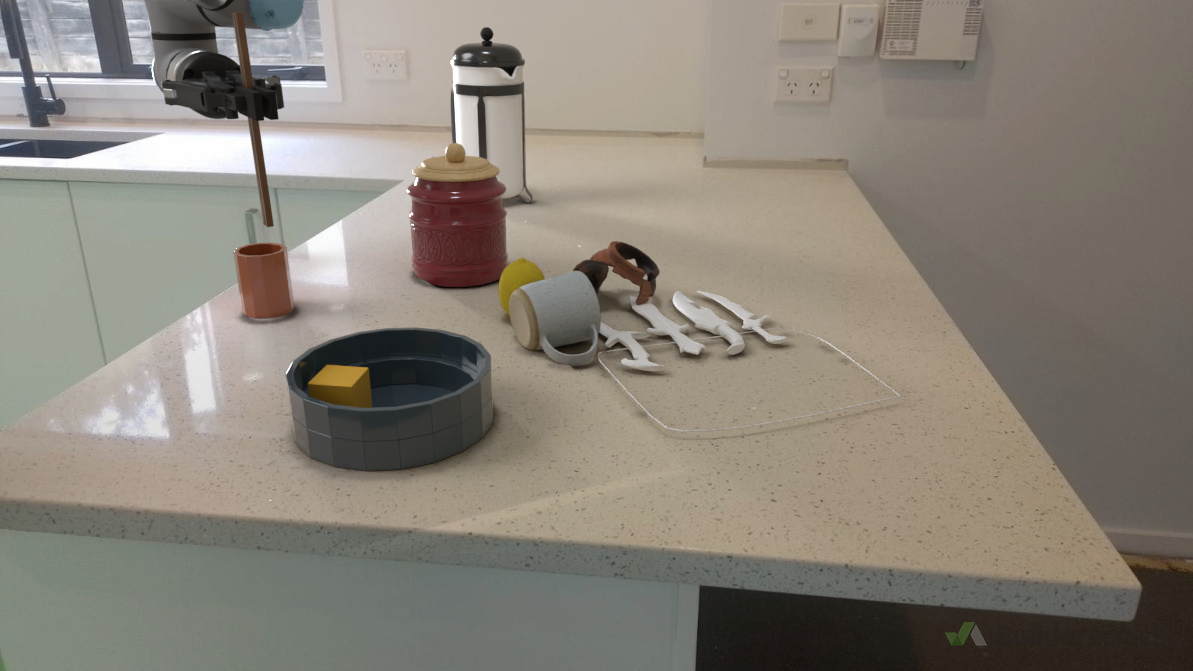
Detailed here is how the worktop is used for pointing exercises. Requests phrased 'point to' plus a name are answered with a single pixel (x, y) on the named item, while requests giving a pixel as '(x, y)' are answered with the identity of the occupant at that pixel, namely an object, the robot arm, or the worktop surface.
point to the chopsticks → (253, 124)
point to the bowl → (395, 399)
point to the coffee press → (491, 108)
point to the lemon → (517, 279)
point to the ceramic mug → (557, 315)
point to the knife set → (703, 321)
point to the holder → (264, 280)
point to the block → (342, 386)
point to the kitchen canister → (457, 220)
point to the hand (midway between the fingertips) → (265, 106)
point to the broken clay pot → (622, 268)
